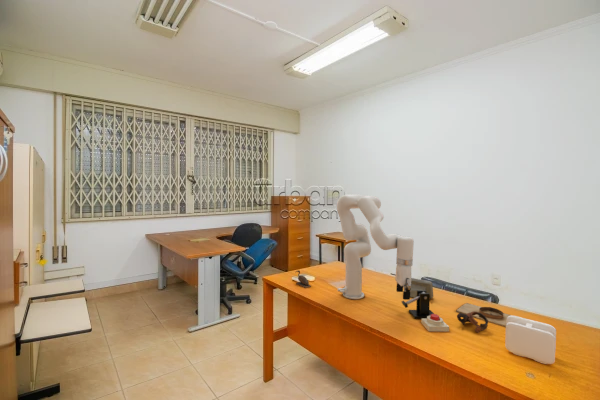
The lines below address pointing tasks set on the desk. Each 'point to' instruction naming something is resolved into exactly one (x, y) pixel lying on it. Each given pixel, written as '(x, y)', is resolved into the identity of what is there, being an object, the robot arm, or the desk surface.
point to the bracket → (422, 306)
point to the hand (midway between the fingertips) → (402, 295)
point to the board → (485, 313)
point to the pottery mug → (473, 320)
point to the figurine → (302, 281)
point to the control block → (434, 324)
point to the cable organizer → (531, 339)
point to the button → (435, 317)
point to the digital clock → (420, 287)
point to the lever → (410, 301)
